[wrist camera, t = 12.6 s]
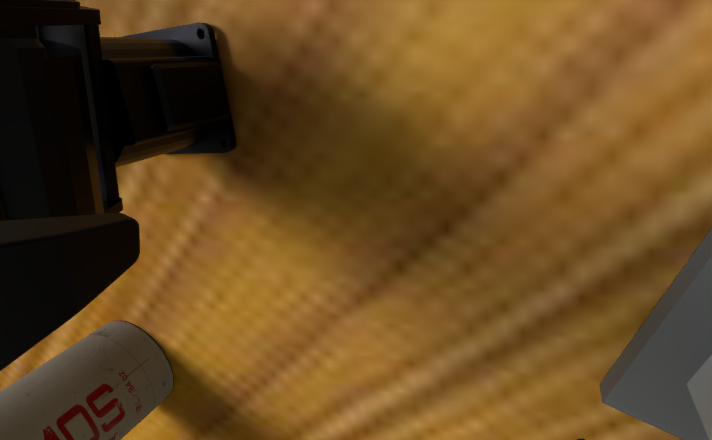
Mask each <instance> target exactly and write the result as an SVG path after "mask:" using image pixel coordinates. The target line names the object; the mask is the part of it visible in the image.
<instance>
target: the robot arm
mask: <svg viewBox="0 0 712 440" xmlns="http://www.w3.org/2000/svg"><path fill="white" fill-rule="evenodd" d="M100 24H101V20H100V11H99V9H94V8H89V7H84V6H80V2H78V1H75V0H0V371H1V370H2V369H4V368H5V367H6V366H8V365H9V364H10V363H12V362H13V361H14V360H16V359H17V358H19V357H20V356H21V355H23V354H24V353H25V352H27V351H28V350H29V349H31V348H32V347H33V346H35V345H36V344H37V343H39V342H40V341H41V340H43V339H44V338H45V337H47V336H48V335H49V334H51V333H52V332H53V331H55V330H56V329H58V328H59V327H60V326H62V325H63V324H64V323H66V322H67V321H68V320H70V319H71V318H72V317H73V316H75V315H76V314H77V313H79V312H80V311H81V310H82V309H83V308H84V307H86V306H87V305H88V304H89V303H90V302H91V301H92V300H94V299H95V298H96V297H97V296H98V295H99V294H100V293H101V292H103V291H104V290H105V289H106V288H107V287H108V286H109V285H111V284H112V283H113V282H114V281H115V280H116V279H117V278H118V277H120V276H121V275H122V274H123V273H124V272H125V271H126V270H127V269H129V268H130V267H131V266H132V265H133V264H134V263H135V262H136V261H137V259H138V257H139V254H140V235H139V224H138V222H137V221H136V220H135V219H133V218H131V217H129V216H127V215H125V214H122V213H119V212H121V211H122V210H123V205H122V198H120V197H119V190H118V182H117V173H116V167H120V166H123V165H127V164H130V163H133V162H137V161H140V160H144V159H147V158H151V157H154V156H158V155H161V154H179V153H226V152H229V151H232V150H234V149H235V147H236V139H235V134H234V129H233V124H232V119H231V114H230V109H229V104H228V99H227V94H226V89H225V85H224V80H223V75H222V70H221V65H220V60H219V55H218V50H217V45H216V40H215V35H214V31H213V28H212V27H211V26H210V25H209V24H207V23H194V24H189V25H183V26H178V27H172V28H167V29H162V30H156V31H151V32H145V33H140V34H135V35H129V36H124V37H121V38H120V37H100V34H99V25H100ZM203 30H204V32H205V37H203V35H202V31H203ZM225 140H226V141H227V142H228V146H227V145H226V143H225ZM577 440H585V439H577Z"/></svg>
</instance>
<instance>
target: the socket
mask: <svg viewBox="0 0 712 440" xmlns="http://www.w3.org/2000/svg"><path fill="white" fill-rule="evenodd" d="M600 390H601V396H602V403H604V404H606V405H609V406H611V407H613V408H615V409H617V410H620V411H622V412H624V413H626V414H628V415H631V416H633V417H635V418H637V419H639V420H642V421H644V422H646V423H648V424H650V425H653V426H655V427H657V428H659V429H661V430H664V431H666V432H668V433H670V434H672V435H675V436H677V437H679V438H681V439H683V440H712V228H711V230H710V231H709V233H708V234H707V235H706V237H705V238H704V240H703V241H702V242H701V244H700V245H699V246H698V248H697V249H696V251H695V252H694V253H693V255H692V256H691V258H690V259H689V260H688V262H687V263H686V265H685V266H684V267H683V269H682V270H681V272H680V273H679V274H678V276H677V277H676V279H675V280H674V281H673V283H672V284H671V286H670V287H669V288H668V290H667V291H666V293H665V294H664V295H663V297H662V298H661V299H660V301H659V302H658V304H657V305H656V306H655V308H654V309H653V311H652V312H651V313H650V315H649V316H648V318H647V319H646V320H645V322H644V323H643V325H642V326H641V327H640V329H639V330H638V332H637V333H636V334H635V336H634V337H633V339H632V340H631V341H630V343H629V344H628V346H627V347H626V348H625V350H624V351H623V353H622V354H621V355H620V357H619V358H618V359H617V361H616V362H615V364H614V365H613V366H612V368H611V369H610V371H609V372H608V373H607V375H606V376H605V378H604V379H603V380H602V382H601V383H600Z"/></svg>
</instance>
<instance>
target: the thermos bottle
mask: <svg viewBox="0 0 712 440" xmlns="http://www.w3.org/2000/svg"><path fill="white" fill-rule="evenodd" d="M172 388H173V374H172V370H171V367H170V364H169V362H168V360H167V358H166V356H165V355H164V353H163V352H162V350H161V349H160V347H159V346H158V345H157V344H156V343H155V341H154V340H153V339H152V338H151V337H150V336H148V335H147V334H146V333H145V332H144V331H142V330H141V329H140V328H138V327H136V326H134V325H133V324H130V323H128V322H124V321H112V322H110V323H107V324H106V325H104V326H103V327H101V328H100V329H98V330H96V331H95V332H93V333H92V334H90V335H88V336H87V337H85V338H84V339H82V340H81V341H79V342H77V343H76V344H74V345H73V346H71V347H70V348H68V349H66V350H65V351H63V352H62V353H60V354H59V355H57V356H55V357H54V358H52V359H51V360H49V361H48V362H46V363H44V364H43V365H41V366H40V367H38V368H37V369H35V370H33V371H32V372H30V373H29V374H27V375H26V376H24V377H22V378H21V379H19V380H18V381H16V382H15V383H13V384H11V385H10V386H8V387H7V388H5V389H4V390H2V391H0V440H121V439H122V438H123V437H124V436H125V435H126V434H127V433H128V432H129V431H130V430H131V429H133V428H134V427H135V426H136V425H137V424H138V423H139V422H141V421H142V420H143V419H144V418H145V417H146V416H147V415H148V414H149V413H150V412H151V411H153V410H154V409H155V408H156V407H157V406H158V405H159V404H160V403H161V402H162V401H163V400H164V399H165V398H166V397H167V396H168V395H169V394H170V392H171V391H172Z"/></svg>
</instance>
